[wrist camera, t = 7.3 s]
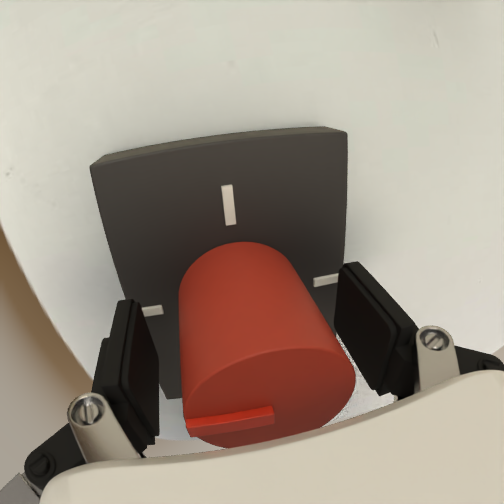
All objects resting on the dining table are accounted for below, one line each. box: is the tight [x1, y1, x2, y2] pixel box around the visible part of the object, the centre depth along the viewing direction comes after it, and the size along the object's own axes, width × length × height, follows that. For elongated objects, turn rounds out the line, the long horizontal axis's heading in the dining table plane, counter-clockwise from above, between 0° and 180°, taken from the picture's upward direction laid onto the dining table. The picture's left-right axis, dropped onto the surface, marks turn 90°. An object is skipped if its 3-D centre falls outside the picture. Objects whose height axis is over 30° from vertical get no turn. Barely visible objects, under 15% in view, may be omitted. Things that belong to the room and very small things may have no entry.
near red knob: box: [179, 242, 356, 448], centre depth 10 cm, size 5×5×6 cm
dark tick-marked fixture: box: [90, 127, 348, 399], centre depth 13 cm, size 12×9×2 cm
